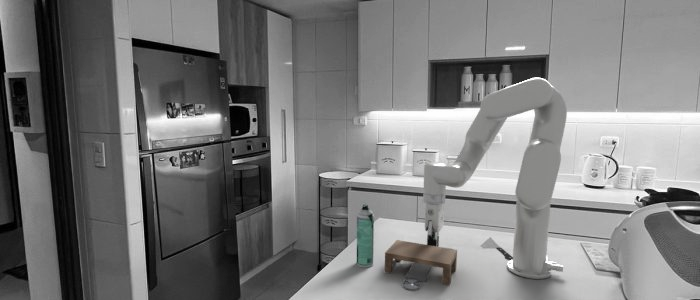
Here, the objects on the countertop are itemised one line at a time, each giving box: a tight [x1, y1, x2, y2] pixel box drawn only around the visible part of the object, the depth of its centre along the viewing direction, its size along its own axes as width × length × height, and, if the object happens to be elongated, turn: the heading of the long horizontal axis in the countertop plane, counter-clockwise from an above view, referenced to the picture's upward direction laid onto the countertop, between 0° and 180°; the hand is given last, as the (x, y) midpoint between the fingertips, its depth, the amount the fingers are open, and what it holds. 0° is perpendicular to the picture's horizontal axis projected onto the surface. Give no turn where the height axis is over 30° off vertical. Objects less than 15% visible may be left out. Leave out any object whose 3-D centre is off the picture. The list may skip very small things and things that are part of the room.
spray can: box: [356, 204, 375, 268], centre depth 122 cm, size 6×6×20 cm
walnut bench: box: [384, 239, 458, 286], centre depth 118 cm, size 20×12×6 cm, turn 65°
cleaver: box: [480, 236, 513, 261], centre depth 141 cm, size 29×1×10 cm
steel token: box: [402, 279, 421, 291], centre depth 109 cm, size 5×5×1 cm
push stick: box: [405, 230, 439, 283], centre depth 123 cm, size 6×25×8 cm, turn 155°
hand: (432, 247), depth 133 cm, fingers closed on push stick, 3 cm apart
